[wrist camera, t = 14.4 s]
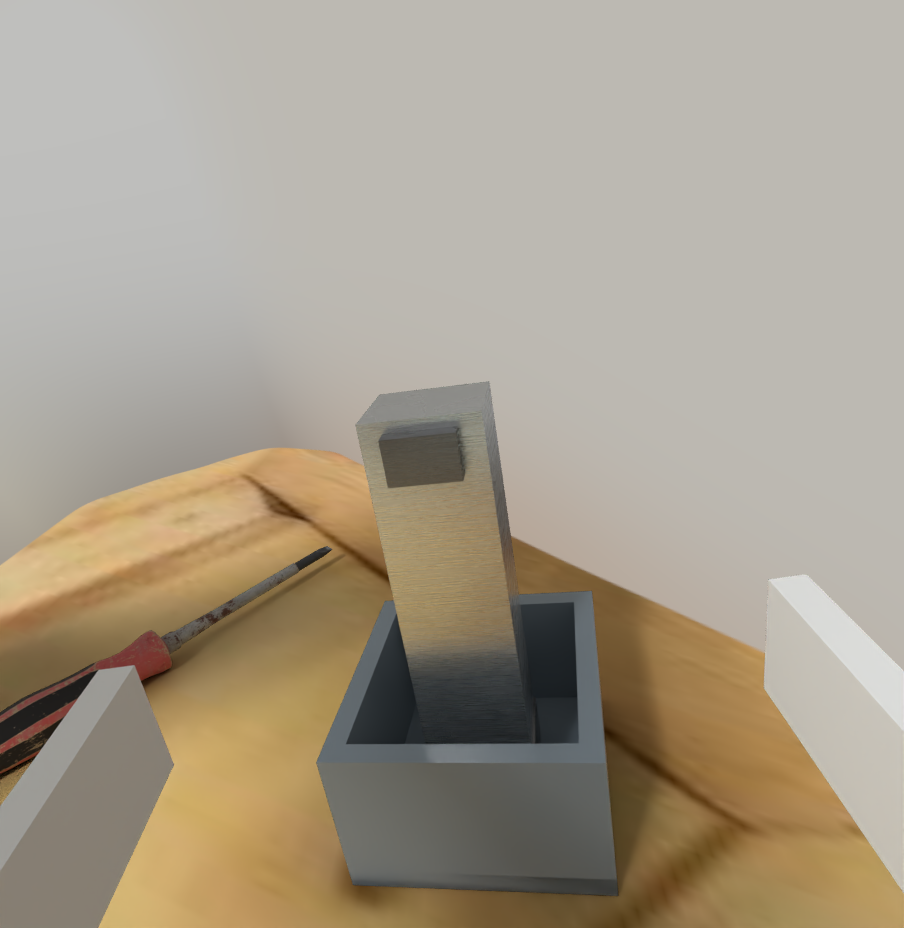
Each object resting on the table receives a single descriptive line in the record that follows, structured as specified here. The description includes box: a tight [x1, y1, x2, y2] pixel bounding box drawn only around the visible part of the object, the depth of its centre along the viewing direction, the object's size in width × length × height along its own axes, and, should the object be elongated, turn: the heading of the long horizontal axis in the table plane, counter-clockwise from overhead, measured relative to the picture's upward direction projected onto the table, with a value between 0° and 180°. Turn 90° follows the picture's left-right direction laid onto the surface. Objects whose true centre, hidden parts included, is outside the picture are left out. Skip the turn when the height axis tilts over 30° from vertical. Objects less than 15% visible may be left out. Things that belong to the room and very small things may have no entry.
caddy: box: [316, 591, 618, 896], centre depth 27 cm, size 10×10×6 cm
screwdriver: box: [0, 546, 332, 774], centre depth 39 cm, size 25×3×3 cm, turn 140°
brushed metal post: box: [356, 382, 541, 744], centre depth 24 cm, size 4×4×16 cm
